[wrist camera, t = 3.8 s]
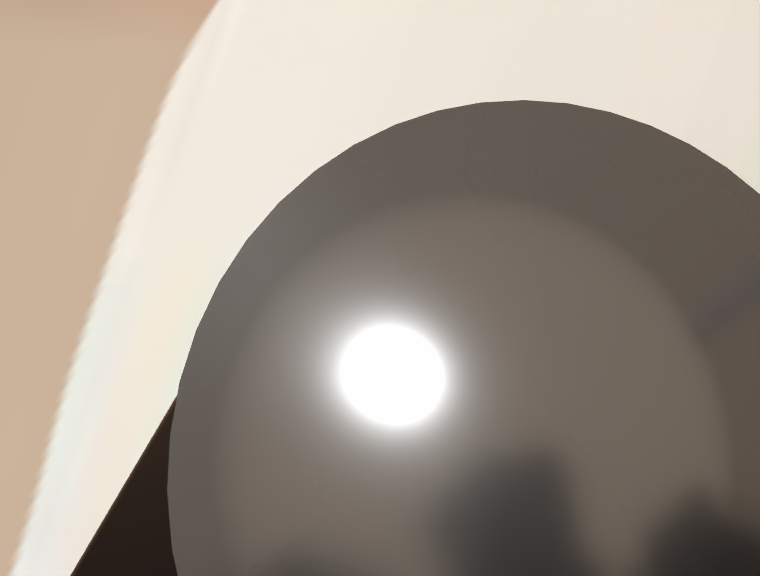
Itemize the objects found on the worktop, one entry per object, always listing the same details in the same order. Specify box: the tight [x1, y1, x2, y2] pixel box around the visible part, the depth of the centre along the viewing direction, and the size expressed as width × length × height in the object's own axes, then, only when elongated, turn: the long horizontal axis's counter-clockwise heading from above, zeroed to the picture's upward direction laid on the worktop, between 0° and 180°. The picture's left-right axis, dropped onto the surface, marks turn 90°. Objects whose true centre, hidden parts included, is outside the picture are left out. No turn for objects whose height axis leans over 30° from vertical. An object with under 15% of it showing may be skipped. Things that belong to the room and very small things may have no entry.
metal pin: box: [167, 100, 760, 576], centre depth 10 cm, size 4×4×12 cm
